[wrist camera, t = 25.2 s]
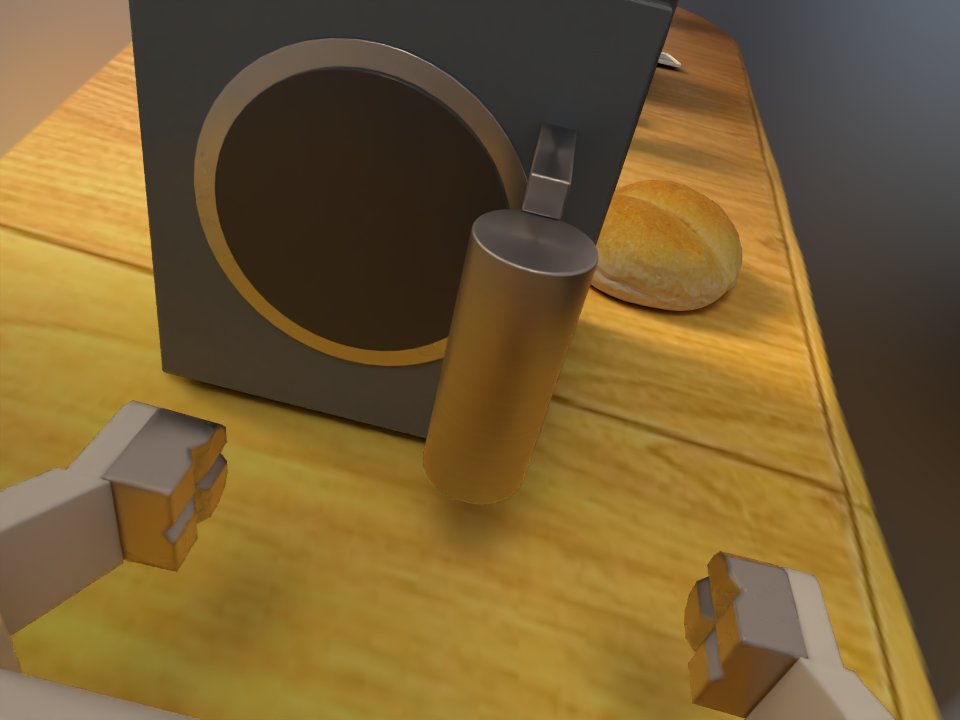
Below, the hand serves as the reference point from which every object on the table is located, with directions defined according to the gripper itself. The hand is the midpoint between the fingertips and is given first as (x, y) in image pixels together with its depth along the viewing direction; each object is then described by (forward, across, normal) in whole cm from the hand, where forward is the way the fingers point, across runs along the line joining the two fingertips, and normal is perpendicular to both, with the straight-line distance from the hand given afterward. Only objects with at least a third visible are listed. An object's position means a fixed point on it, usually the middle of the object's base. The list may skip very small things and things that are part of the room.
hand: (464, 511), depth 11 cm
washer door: (+6, +4, +7) cm, 10 cm away
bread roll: (+24, -6, +7) cm, 26 cm away
